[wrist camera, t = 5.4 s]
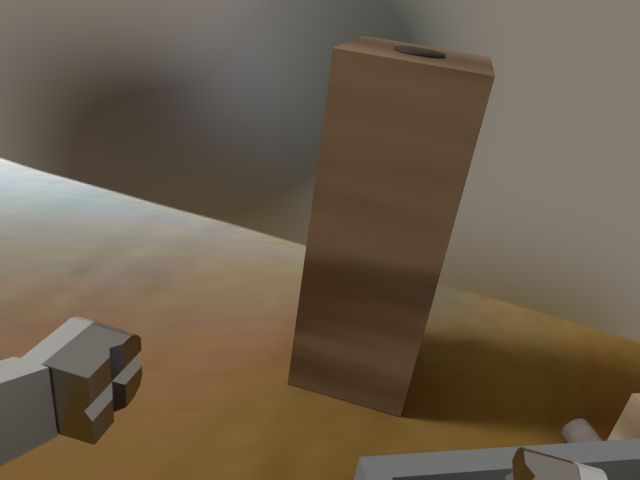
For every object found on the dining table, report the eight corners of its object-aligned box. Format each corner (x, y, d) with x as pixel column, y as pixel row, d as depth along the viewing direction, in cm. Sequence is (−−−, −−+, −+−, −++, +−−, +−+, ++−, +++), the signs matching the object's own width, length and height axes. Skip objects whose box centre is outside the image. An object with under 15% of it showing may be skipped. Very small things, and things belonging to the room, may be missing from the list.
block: (400, 416, 22) (495, 73, 16) (287, 383, 23) (333, 45, 17) (412, 346, 26) (490, 55, 20) (317, 320, 27) (363, 33, 21)
